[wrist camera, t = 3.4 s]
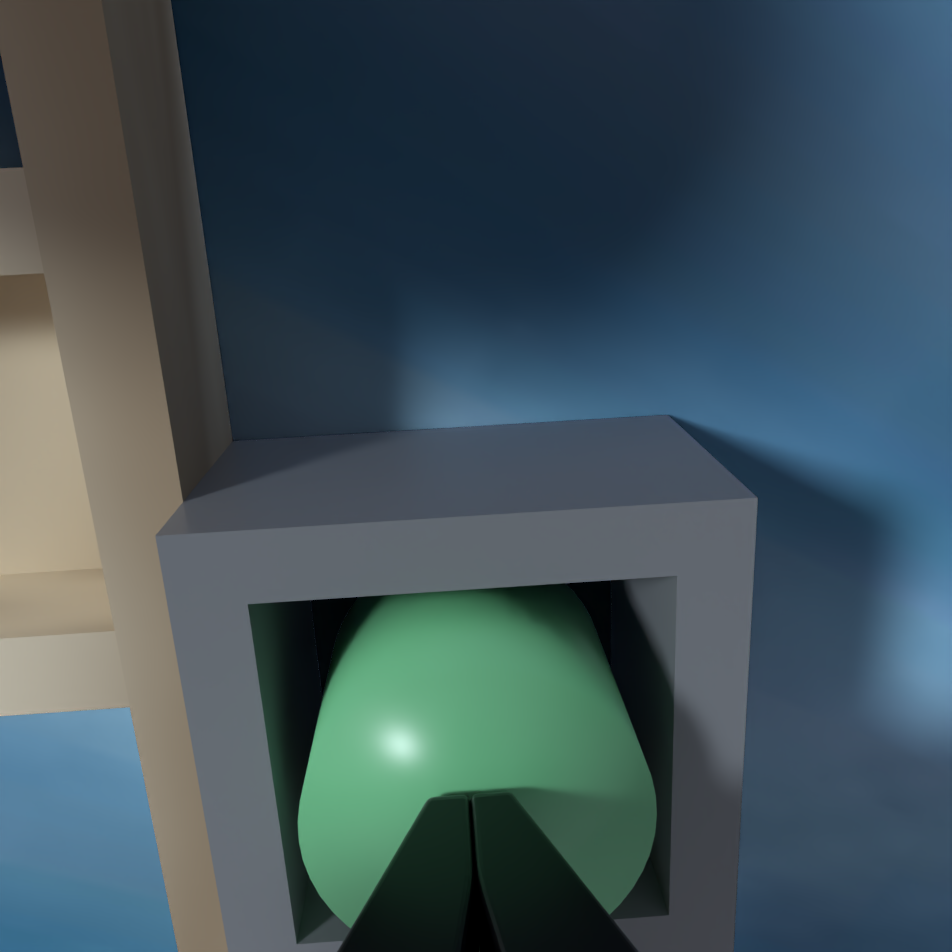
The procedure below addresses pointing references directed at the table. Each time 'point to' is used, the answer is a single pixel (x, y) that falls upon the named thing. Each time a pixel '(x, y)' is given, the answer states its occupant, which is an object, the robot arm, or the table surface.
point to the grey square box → (463, 568)
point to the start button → (472, 735)
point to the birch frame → (105, 394)
